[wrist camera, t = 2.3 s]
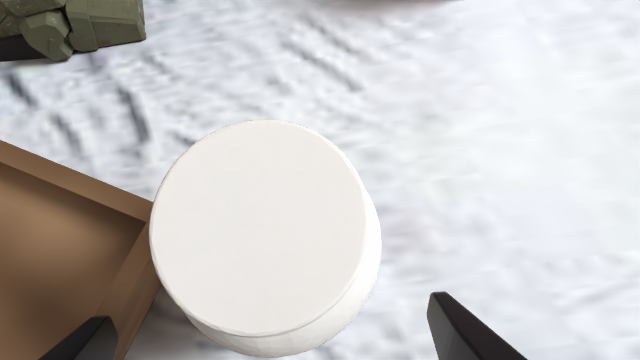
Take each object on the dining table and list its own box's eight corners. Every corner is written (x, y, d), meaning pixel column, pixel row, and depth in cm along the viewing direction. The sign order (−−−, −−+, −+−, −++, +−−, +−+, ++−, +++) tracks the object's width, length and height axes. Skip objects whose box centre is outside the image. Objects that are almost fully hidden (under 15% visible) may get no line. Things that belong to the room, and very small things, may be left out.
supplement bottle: (226, 211, 20) (104, 91, 8) (337, 197, 21) (383, 65, 8) (233, 333, 18) (84, 428, 6) (355, 314, 19) (453, 364, 6)
